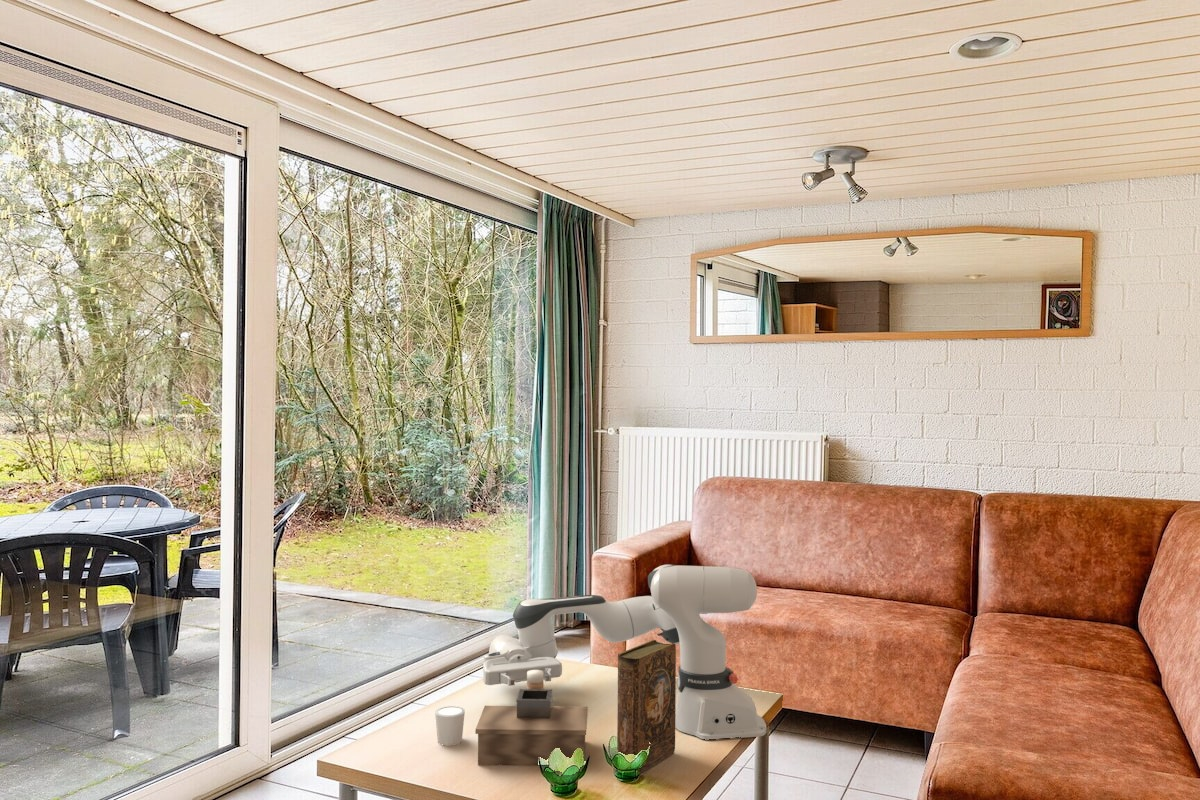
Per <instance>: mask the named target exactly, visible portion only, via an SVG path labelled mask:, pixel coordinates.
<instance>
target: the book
mask: <svg viewBox="0 0 1200 800" xmlns="http://www.w3.org/2000/svg"><path fill="white" fill-rule="evenodd" d="M676 646H677V644H675V643H663V642H658V641H657V639H652V640H649V641H647V642H644V643H642V644H640V645H637V646H634V647H632V648H630V649H627V650H624V651H623V652H620V653H618V654H617V721H616V722H617V733H616V734H617V735H616V738H617V739H616V740H617V741H616V742H617V743H616V745H617V747H616V749H617V750H618V752H621V753H623V754H625V755H628V754H634V755H637V754H638V753H639V752H640V751H641V750H647V749H648V747H649V746H650V749H649V755H648V758H647V760H646V762H645V763H644V764H643V765H642V767H641V768H640V771H639V772H640V776H642V775H644V774H645V773H646V772H648V771H650V770H651V769H653V768H655V767H656V766H658V765H659V764H661V763H662V762H664V761H666V760H667V759H669V758H670V757H672V755H674V753H675V751H676V728H675V715H676V710H677V707H676V703H677V702H676V701H677V700H676V699H677V698H676V694H677V693H676V691H677V690H676V689H677V688H676V686H677V685H676V683H677V682H676V680H677V679H676V677H677V675H676V674H677V670H676V665H677V658H676V657H677V650H676V649H677V647H676ZM649 742H650V743H651V744H649ZM617 750H616V751H617Z"/></svg>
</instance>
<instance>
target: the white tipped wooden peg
mask: <svg viewBox="0 0 1200 800" xmlns="http://www.w3.org/2000/svg"><path fill="white" fill-rule="evenodd" d="M526 689H544V672H543V671H541V670H530V671H528V672H527V681H526Z"/></svg>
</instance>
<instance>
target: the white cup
mask: <svg viewBox="0 0 1200 800" xmlns="http://www.w3.org/2000/svg"><path fill="white" fill-rule="evenodd" d="M434 713H435V725H436V737H437V743H438V744H439V743H440V744H443V745H442V746H444V745H452V746H455V745H454V744H457V745H459V744H461V743H462V741H463V734H464V723H465V713H466V711H465V709H464V708H463V707H460V706H456V705H455V706H452V705H451V706H442V707H439V708H438V709H436V710H435V712H434ZM460 742H461V743H460ZM458 743H459V744H458ZM440 744H439V745H440Z"/></svg>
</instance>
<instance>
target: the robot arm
mask: <svg viewBox="0 0 1200 800" xmlns="http://www.w3.org/2000/svg"><path fill="white" fill-rule="evenodd" d="M647 584H648V588H649V589H650V593H651V595H643V596H640V595H639V596H634V597H629V598H625V599H620V600H617V601H609V600H606V599H605V598H604V596H602V595H597V594H583V595H571V596H562V597H550V598H528V599H525V600H522V601H519V603H518V604H517V605H516V607H515V609H514V611H513V613H512V619H513V621H514V624H515V628H516V631H517V636H518V638H514V637H513V636H511V635H508V634H499V635H497V636H496V637H494V638H493V640H492V641H491V643H490V645H489V651H488V652H489V653H488V654H484V655H483V663H482V664H483V665H482V672H483V674H482V678H483V679H482V680H483V684H484V685H486V686H494V685H502V684H504V685H507V686H508V687H511V686H515V683H521V682H527V672H528V671H530V670H541V671H543V672H544V679H543V682H545V683H546V682H551V681H552V679H553V678H554V679H555V678H560V677H561V676H562V675H563V665H562V662H561V661H560V660H558V659H557V655H558V653H559V652H558V648H557V641H556V637H555V632H554V628H553V627H554V626H553V622H552V617H553V616H556V615H564V614H565V615H566V614H572V613H573V614H574V613H575V614H576V613H581V614H584V615H585V616H586V617H587V618H588V619H589V621H590V623H591V625H592V626H593V628H594V629H595V631H596V632H597V633H598V635H600V636H601V637H602V638H603V639H604V640H606V641H607V642H610V643H621V642H625V641H628V640H632V639H636V638H638V637H641V636H643V635H645V634H648V633H650V632H651V631H653V630H657V629H660V630H661V631H662V632H659V633H656V634H657V637H662V638H663V639H664V640H665V641H666V642H667V643H669V644H672V643H674V644H675V645H679V653H680V654H679V655H680V656H679V657H680V658H679V659H680V664H679V666H678V671H677V688H678V700H677V707H676V710H675V729H677V731H680V732H681V733H684V734H688V735H691V736H696V737H697V738H699V739H701V740H703V739H705V740H704V741H710V740H709V739H716V740H720V739H719V738H730V739H732V738H731V737H734V738H733V739H736V738H735V737H739V738H738V739H743V738H758V737H763V736H765V735H766V733H767V730H768V729H767V724H766V721H765V719H763V717H762V716H760V715H759V714H758V712H757V706H756V705H755V702H754V700H753V699H752V697H751V696H750V695H749V694H748V693H747V692H745V691H744V690H743V689H741V688H740V687H739V686H737V683H738V682H739V678H738V676H737V674H736V673H734V671H733V670H732V669H731V668H730V667H729V666H728V667H727V666H726V664H727V663H726V662H727V660H726V657H727V656H726V655H727V654H726V653H727V651H726V650H727V642H726V638H725V635H724V633H723V632H722V631H720V630H719V628H717V627H716V626H714V625H711V624H710V623H708V622H706V621H705V620H703V618H702V617H701V615H707V614H729V613H731V614H732V613H738V612H744V611H749V610H750V609H751V608H752V607H753V605H754V604H755V601H756V600H757V595H758V588H757V587H758V586H757V582H756V580H755V578H754V576H753V575H752V573H750V572H749V571H748V570H745V569H741V568H736V567H731V566H712V565H711V566H709V565H708V566H707V565H704V566H703V565H676V564H663V565H659V566H658V567H656V568H654V569H653V570H652V571H651V572H649V574H648V575H647ZM740 737H741V738H740Z"/></svg>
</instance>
